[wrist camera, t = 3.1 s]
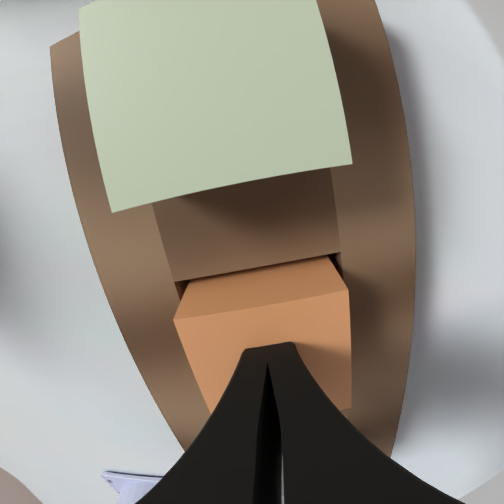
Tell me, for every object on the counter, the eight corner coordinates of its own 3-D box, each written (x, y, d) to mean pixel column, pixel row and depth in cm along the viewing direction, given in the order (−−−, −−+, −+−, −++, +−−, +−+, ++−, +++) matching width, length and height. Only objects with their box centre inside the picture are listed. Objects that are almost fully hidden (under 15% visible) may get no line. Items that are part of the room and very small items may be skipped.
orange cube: (328, 339, 13) (351, 407, 9) (225, 356, 13) (217, 428, 9) (317, 240, 11) (348, 289, 7) (197, 262, 11) (173, 319, 8)
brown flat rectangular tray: (377, 436, 15) (388, 466, 13) (216, 461, 16) (213, 493, 14) (344, 3, 8) (364, -26, 6) (84, 60, 9) (49, 46, 7)
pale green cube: (311, 155, 9) (352, 163, 5) (166, 184, 9) (111, 213, 5) (282, 20, 7) (299, -48, 4) (140, 52, 8) (78, 9, 4)
